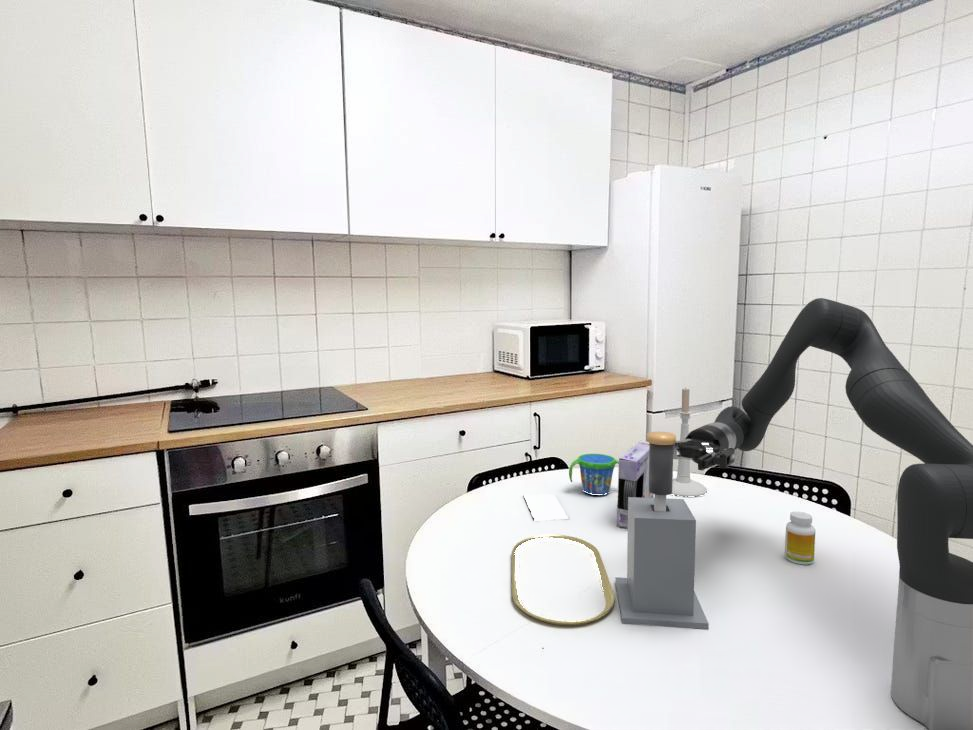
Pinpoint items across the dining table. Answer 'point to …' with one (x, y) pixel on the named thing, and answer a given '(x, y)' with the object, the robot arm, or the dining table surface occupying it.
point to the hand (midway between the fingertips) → (677, 460)
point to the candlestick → (683, 481)
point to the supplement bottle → (800, 539)
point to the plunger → (660, 466)
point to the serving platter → (605, 581)
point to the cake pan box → (632, 479)
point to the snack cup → (595, 472)
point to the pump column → (660, 567)
